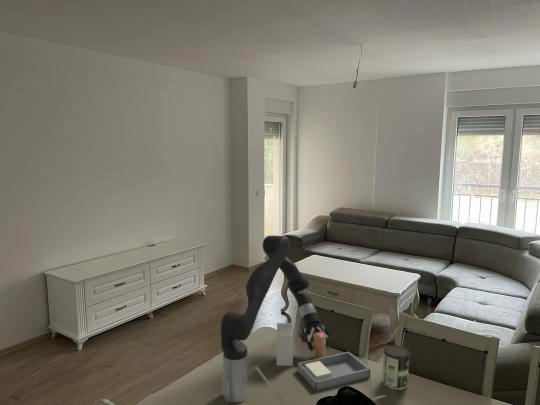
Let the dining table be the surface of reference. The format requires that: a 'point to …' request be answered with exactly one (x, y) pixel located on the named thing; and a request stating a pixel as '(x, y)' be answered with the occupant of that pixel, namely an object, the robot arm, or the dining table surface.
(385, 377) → the coffee can
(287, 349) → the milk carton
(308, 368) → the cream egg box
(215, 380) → the dining table surface
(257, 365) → the dining table surface
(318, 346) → the terracotta jar
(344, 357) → the tray
